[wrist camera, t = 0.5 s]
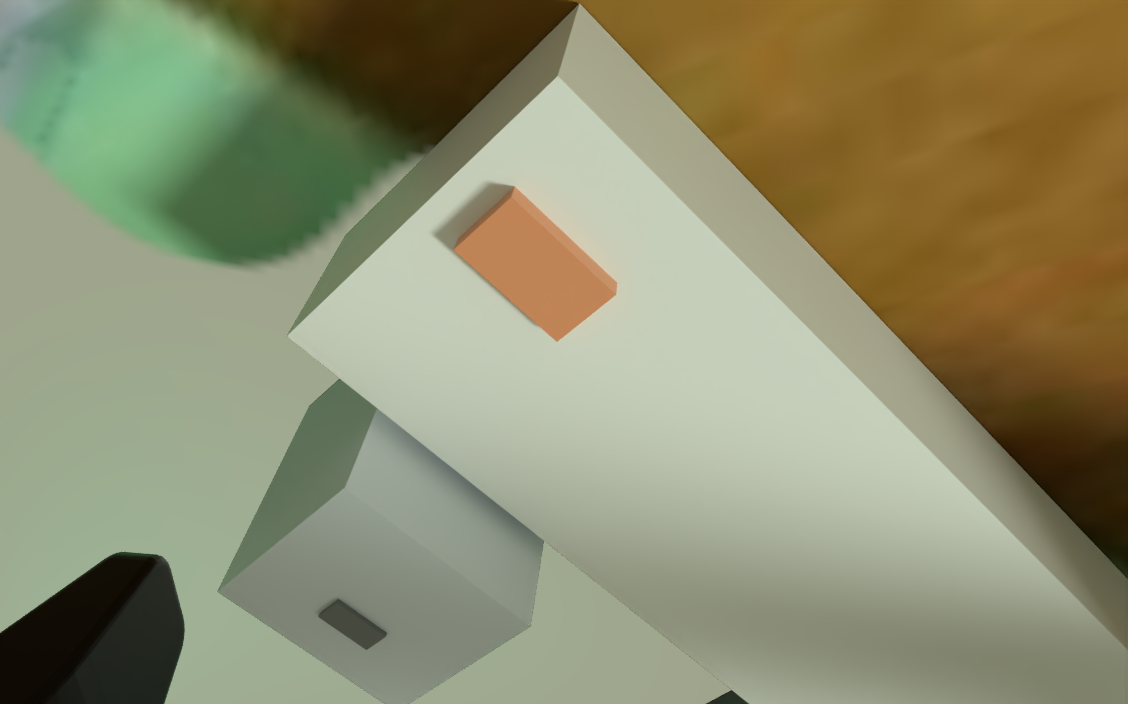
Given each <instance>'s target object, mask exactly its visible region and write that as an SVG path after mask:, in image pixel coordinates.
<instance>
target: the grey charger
mask: <svg viewBox="0 0 1128 704" xmlns="http://www.w3.org/2000/svg"><path fill="white" fill-rule="evenodd" d="M543 543H544V540H542V539H541V538H540V537H539V536H537V535H536V534H535V533H533V532H532V531H531V530H530V529H528V528H527V527H526V526H525V525H523V524H522V523H521V522H520V521H518V520H517V519H516V518H515V517H513V516H512V515H511V514H510V513H508V512H507V511H506V510H505V509H503V508H502V507H501V506H499V505H498V504H497V503H496V502H494V501H493V500H492V499H491V498H489V497H488V496H487V495H486V494H484V493H483V492H482V491H481V490H479V489H478V488H477V487H476V486H474V485H473V484H472V483H471V482H469V481H468V480H467V479H466V478H464V477H463V476H462V475H460V474H459V473H458V472H457V471H455V470H454V469H453V468H452V467H450V466H449V465H448V464H447V463H445V462H444V461H443V460H442V459H440V458H439V457H438V456H437V455H435V454H434V453H433V452H432V451H430V450H429V449H428V448H426V447H425V446H424V445H423V444H421V443H420V442H419V441H418V440H416V439H415V438H414V437H413V436H411V435H410V434H409V433H408V432H406V431H405V430H404V429H403V428H401V427H400V426H399V425H398V424H396V423H395V422H394V421H393V420H391V419H390V418H389V417H387V416H386V415H385V414H384V413H382V412H381V411H380V410H379V409H377V408H376V407H375V406H374V405H372V404H371V403H370V402H369V401H367V400H366V399H365V398H364V397H362V396H361V395H360V394H359V393H357V392H356V391H355V390H353V389H352V388H351V387H350V386H348V385H347V384H346V383H345V382H343V381H342V380H341V379H339V380H338V381H336V382H335V383H334V384H333V385H332V386H331V387H330V388H329V389H328V390H326V391H325V392H324V393H323V394H322V395H321V396H320V397H319V398H317V400H315V401H314V402H313V403H312V404H311V405H310V406H309V408H308V410H307V412H306V414H305V416H304V418H303V420H302V422H301V424H300V426H299V428H298V430H297V432H296V434H295V436H294V438H293V440H292V442H291V444H290V446H289V448H288V450H287V452H286V454H285V456H284V458H283V460H282V462H281V464H280V466H279V468H278V470H277V472H276V474H275V476H274V478H273V481H272V482H271V484H270V486H269V488H268V490H267V492H266V494H265V497H264V498H263V501H262V502H261V504H260V507H259V509H258V511H257V513H256V515H255V517H254V519H253V521H252V523H251V525H250V527H249V529H248V531H247V533H246V535H245V537H244V539H243V541H242V543H241V545H240V547H239V549H238V551H237V553H236V555H235V557H234V559H233V561H232V563H231V565H230V567H229V569H228V571H227V573H226V575H225V577H224V579H223V581H222V583H221V586H220V587H219V589H218V593H220V594H221V595H223V596H224V597H226V598H227V599H229V600H230V601H232V602H233V603H235V604H236V605H238V606H239V607H241V608H242V609H244V610H245V611H247V612H248V613H250V614H251V615H253V616H254V617H256V618H257V619H259V620H260V621H262V622H263V623H265V624H266V625H267V626H269V627H271V628H272V629H273V630H275V631H277V632H278V633H280V634H281V635H282V636H284V637H285V638H287V639H288V640H290V641H291V642H293V643H294V644H296V645H297V646H299V647H300V648H302V649H303V650H305V651H306V652H308V653H309V654H311V655H312V656H314V657H315V658H317V659H318V660H320V661H321V662H323V663H324V664H326V665H327V666H328V667H330V668H332V669H333V670H334V671H336V672H337V673H339V674H340V675H342V676H344V677H345V678H346V679H348V680H350V681H351V682H352V683H354V684H355V685H357V686H358V687H360V688H361V689H363V690H364V691H366V692H367V693H369V694H370V695H372V696H373V697H375V698H376V699H378V700H379V701H381V702H382V703H384V704H410V703H411V702H413V701H414V700H416V699H418V698H419V697H421V696H422V695H424V694H425V693H427V692H428V691H430V690H432V689H433V688H435V687H436V686H438V685H440V684H441V683H443V682H444V681H446V680H447V679H449V678H451V677H452V676H454V675H455V674H457V673H458V672H460V671H461V670H463V669H465V668H466V667H468V666H469V665H471V664H473V663H474V662H476V661H477V660H479V659H480V658H482V657H483V656H485V655H487V654H488V653H490V652H491V651H493V650H494V649H496V648H497V647H499V646H501V645H502V644H504V643H505V642H507V641H509V640H510V639H512V638H513V637H515V636H516V635H518V634H520V633H521V632H523V631H524V630H526V629H527V628H529V627H530V626H531V621H532V614H533V608H534V601H535V595H536V588H537V582H538V576H539V569H540V563H541V556H542V550H543Z"/></svg>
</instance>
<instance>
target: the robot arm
mask: <svg viewBox="0 0 1128 704" xmlns="http://www.w3.org/2000/svg"><path fill="white" fill-rule="evenodd" d="M184 630H185V629H184V619H183V614H182V611H181V607H180V603H179V600H178V595H177V592H176V588H175V584H174V580H173V576H172V573H171V569H170V567H169V564H168V562H167V561H166V560H165V559H164V558H163V557H162V556H159V555H154V554H141V553H130V552H119V553H115V554H113V555H111V556H109V557H107V558H106V559H104V560H103V561H101V562H100V563H98V564H97V565H96V566H94V567H93V568H91V569H90V570H89V571H87V572H86V573H85V574H83V575H81V576H80V577H79V578H77V579H76V580H75V581H73V582H72V583H70V584H69V585H67V586H66V587H65V588H63V589H62V590H60V591H59V592H57V593H56V594H55V595H53V596H52V597H50V598H49V599H48V600H46V601H45V602H43V603H42V604H40V605H39V606H38V607H36V608H35V609H33V610H32V611H30V612H29V613H28V614H26V615H25V616H23V617H22V618H21V619H19V620H18V621H16V622H15V623H13V624H12V625H11V626H9V627H8V628H6V629H5V630H4V631H2V632H1V633H0V704H164V703H165V700H166V697H167V693H168V690H169V687H170V684H171V681H172V678H173V675H174V672H175V669H176V666H177V662H178V659H179V656H180V653H181V650H182V646H183V641H184Z"/></svg>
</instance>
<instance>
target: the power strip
mask: <svg viewBox="0 0 1128 704" xmlns="http://www.w3.org/2000/svg"><path fill="white" fill-rule="evenodd" d="M287 337H288V338H289V339H291V340H292V341H293V342H294V343H296V344H297V345H298V346H299V347H301V348H302V349H303V350H305V351H306V352H307V353H308V354H309V355H311V356H312V357H313V358H315V359H316V360H317V361H318V362H320V363H321V364H322V365H323V366H325V367H326V368H327V369H328V370H330V371H331V372H332V373H334V374H335V375H336V376H337V377H338V378H340V379H341V380H342V381H343V382H345V383H346V384H347V385H348V386H350V387H351V388H352V389H353V390H355V391H356V392H357V393H359V394H360V395H361V396H362V397H364V398H365V399H366V400H367V401H369V402H370V403H371V404H372V405H374V406H375V407H376V408H377V409H379V410H380V411H381V412H382V413H384V414H385V415H386V416H387V417H389V418H390V419H391V420H393V421H394V422H395V423H396V424H398V425H399V426H400V427H401V428H403V429H404V430H405V431H406V432H408V433H409V434H410V435H411V436H413V437H414V438H415V439H416V440H418V441H419V442H420V443H421V444H423V445H424V446H425V447H426V448H428V449H429V450H430V451H432V452H433V453H434V454H435V455H437V456H438V457H439V458H440V459H442V460H443V461H444V462H445V463H447V464H448V465H449V466H450V467H452V468H453V469H454V470H455V471H457V472H458V473H459V474H460V475H462V476H463V477H464V478H466V479H467V480H468V481H469V482H471V483H472V484H473V485H474V486H476V487H477V488H478V489H479V490H481V491H482V492H483V493H484V494H486V495H487V496H488V497H489V498H491V499H492V500H493V501H494V502H496V503H497V504H498V505H499V506H501V507H502V508H503V509H505V510H506V511H507V512H508V513H510V514H511V515H512V516H513V517H515V518H516V519H517V520H518V521H520V522H521V523H522V524H523V525H525V526H526V527H527V528H528V529H530V530H531V531H532V532H533V533H535V534H536V535H537V536H539V537H540V538H541V539H542V540H544V541H545V542H546V543H547V544H549V545H550V546H551V547H552V548H554V549H555V550H556V551H557V552H559V553H560V554H561V555H562V556H564V557H565V558H566V559H567V560H569V561H570V562H571V563H572V564H574V565H575V566H576V567H578V568H579V569H580V570H581V571H583V572H584V573H585V574H586V575H588V576H589V577H590V578H591V579H593V580H594V581H595V582H596V583H598V584H599V585H600V586H601V587H603V588H604V589H605V590H607V591H608V592H609V593H610V594H612V595H613V596H614V597H615V598H617V599H618V600H619V601H620V602H622V603H623V604H624V605H626V606H627V607H628V608H629V609H630V610H632V611H633V612H634V613H635V614H637V615H638V616H640V618H642V619H643V620H644V621H645V622H647V623H648V624H649V625H651V626H652V627H653V628H654V629H656V630H657V631H658V632H659V633H661V634H662V635H663V636H664V637H666V638H667V639H668V640H669V641H671V642H672V643H673V644H674V645H676V646H677V647H678V648H679V649H681V650H682V651H683V652H685V653H686V654H687V655H689V656H690V657H691V658H692V659H693V660H695V661H696V662H697V663H698V664H700V665H701V666H702V667H703V668H705V669H706V670H707V671H709V672H710V673H711V674H712V675H714V676H715V677H716V678H718V680H720V681H721V682H722V683H724V684H725V685H726V686H727V687H729V688H730V689H731V690H732V691H734V692H735V693H736V694H737V695H739V696H740V697H741V698H742V699H744V700H745V701H746V702H747V703H749V704H1128V579H1127V578H1126V577H1125V576H1124V575H1123V574H1122V573H1121V571H1120V570H1119V569H1118V568H1117V567H1116V566H1115V565H1114V564H1113V563H1112V562H1111V561H1110V560H1109V559H1108V558H1107V557H1106V556H1105V555H1104V554H1103V553H1102V552H1101V550H1100V549H1099V548H1098V547H1097V546H1096V545H1095V544H1094V543H1093V542H1092V541H1091V540H1090V539H1089V538H1088V537H1087V536H1086V535H1085V534H1084V533H1083V532H1082V531H1081V529H1080V528H1079V527H1078V526H1077V525H1076V524H1075V523H1074V522H1073V521H1072V520H1071V519H1070V518H1069V517H1068V516H1067V515H1066V514H1065V513H1064V512H1063V511H1062V510H1061V508H1060V507H1059V506H1058V505H1057V504H1056V503H1055V502H1054V501H1053V500H1052V499H1051V498H1050V497H1049V496H1048V495H1047V494H1046V493H1045V492H1044V491H1043V490H1042V489H1041V487H1040V486H1039V485H1038V484H1037V483H1036V482H1035V481H1034V480H1033V479H1032V478H1031V477H1030V476H1029V475H1028V474H1027V473H1026V472H1025V471H1024V470H1023V469H1022V468H1021V466H1020V465H1019V464H1018V463H1017V462H1016V461H1015V460H1014V459H1013V458H1012V457H1011V456H1010V455H1009V454H1008V453H1007V452H1006V451H1005V450H1004V449H1003V448H1002V447H1001V445H1000V444H999V443H998V442H997V441H996V440H995V439H994V438H993V437H992V436H991V435H990V434H989V433H988V432H987V431H986V430H985V429H984V428H983V427H982V426H981V424H980V423H979V422H978V421H977V420H976V419H975V418H974V417H973V416H972V415H971V414H970V413H969V412H968V411H967V410H966V409H965V408H964V407H963V406H962V405H961V403H960V402H959V401H958V400H957V399H956V398H955V397H954V396H953V395H952V394H951V393H950V392H949V391H948V390H947V389H946V388H945V387H944V386H943V385H942V384H941V382H940V381H939V380H938V379H937V378H936V377H935V376H934V375H933V374H932V373H931V372H930V371H929V370H928V369H927V368H926V367H925V366H924V365H923V364H922V363H921V361H920V360H919V359H918V358H917V357H916V356H915V355H914V354H913V353H912V352H911V351H910V350H909V349H908V348H907V347H906V346H905V345H904V344H903V343H902V342H901V340H900V339H899V338H898V337H897V336H896V335H895V334H894V333H893V332H892V331H891V330H890V329H889V328H888V327H887V326H886V325H885V324H884V323H883V322H882V321H881V319H880V318H879V317H878V316H877V315H876V314H875V313H874V312H873V311H872V310H871V309H870V308H869V307H868V306H867V305H866V304H865V303H864V302H863V301H862V300H861V298H860V297H859V296H858V295H857V294H856V293H855V292H854V291H853V290H852V289H851V288H850V287H849V286H848V285H847V284H846V283H845V282H844V281H843V280H842V279H841V277H840V276H839V275H838V274H837V273H836V272H835V271H834V270H833V269H832V268H831V267H830V266H829V265H828V264H827V263H826V262H825V261H824V260H823V259H822V258H821V256H820V255H819V254H818V253H817V252H816V251H815V250H814V249H813V248H812V247H811V246H810V245H809V244H808V243H807V242H806V241H805V240H804V239H803V238H802V237H801V235H800V234H799V233H798V232H797V231H796V230H795V229H794V228H793V227H792V226H791V225H790V224H789V223H788V222H787V221H786V220H785V219H784V218H783V217H782V216H781V214H780V213H779V212H778V211H777V210H776V209H775V208H774V207H773V206H772V205H771V204H770V203H769V202H768V201H767V200H766V199H765V198H764V197H763V196H762V195H761V193H760V192H759V191H758V190H757V189H756V188H755V187H754V186H753V185H752V184H751V183H750V182H749V181H748V180H747V179H746V178H745V177H744V176H743V175H742V173H741V172H740V171H739V170H738V169H737V168H736V167H735V166H734V165H733V164H732V163H731V162H730V161H729V160H728V159H727V158H726V157H725V156H724V155H723V154H722V152H721V151H720V150H719V149H718V148H717V147H716V146H715V145H714V144H713V143H712V142H711V141H710V140H709V139H708V138H707V137H706V136H705V135H704V134H703V133H702V131H701V130H700V129H699V128H698V127H697V126H696V125H695V124H694V123H693V122H692V121H691V120H690V119H689V118H688V117H687V116H686V115H685V114H684V113H683V112H682V110H681V109H680V108H679V107H678V106H677V105H676V104H675V103H674V102H673V101H672V100H671V99H670V98H669V97H668V96H667V95H666V94H665V93H664V92H663V91H662V89H661V88H660V87H659V86H658V85H657V84H656V83H655V82H654V81H653V80H652V79H651V78H650V77H649V76H648V75H647V74H646V73H645V72H644V71H643V70H642V68H641V67H640V66H639V65H638V64H637V63H636V62H635V61H634V60H633V59H632V58H631V57H630V56H629V55H628V54H627V53H626V52H625V51H624V50H623V49H622V47H621V46H620V45H619V44H618V43H617V42H616V41H615V40H614V39H613V38H612V37H611V36H610V35H609V34H608V33H607V32H606V31H605V30H604V29H603V28H602V26H601V25H600V24H599V23H598V22H597V21H596V20H595V19H594V18H593V17H592V16H591V15H590V14H589V13H588V12H587V11H586V10H585V9H584V8H583V7H582V5H581V4H580V3H579V4H578V5H577V6H576V7H575V8H574V9H573V10H572V11H571V12H570V13H569V14H568V15H567V16H566V17H565V18H564V19H563V20H562V21H561V22H560V23H559V24H558V25H557V26H556V27H555V28H554V29H553V30H552V31H551V32H550V33H549V34H548V35H547V36H546V37H545V38H544V39H543V40H542V41H541V42H540V43H539V44H538V45H537V46H536V47H535V48H534V49H533V50H532V51H531V52H530V53H529V54H528V55H527V56H526V57H525V58H524V59H523V60H522V61H521V62H520V63H519V64H518V65H517V66H516V67H515V68H514V69H513V70H512V71H511V72H510V73H509V74H508V75H507V76H506V77H505V78H504V79H503V80H502V81H501V82H500V83H499V84H498V85H497V86H496V87H495V88H494V89H493V90H492V91H491V92H490V93H489V94H488V95H487V96H486V97H485V98H484V99H483V100H482V101H481V102H480V103H479V104H478V105H477V106H476V107H475V108H474V109H473V110H472V111H471V112H469V113H468V114H467V115H466V116H465V117H464V118H463V119H462V120H461V121H460V122H459V123H458V124H457V125H456V126H455V127H454V128H453V129H452V130H451V131H450V132H449V133H448V134H447V135H446V136H445V137H444V138H443V139H442V140H441V141H440V142H439V143H438V144H437V145H436V146H435V147H434V148H433V149H432V150H431V151H430V152H429V153H428V154H427V155H426V156H425V157H424V158H423V159H422V160H421V161H420V162H419V163H418V164H417V165H416V166H415V167H414V168H413V169H412V170H411V171H410V172H409V173H408V174H407V175H406V176H405V177H404V178H403V179H402V180H401V181H400V182H399V183H398V184H397V185H396V186H395V187H394V188H393V189H392V190H391V191H390V192H389V193H388V194H387V195H386V196H385V197H384V198H383V199H382V200H381V201H380V202H379V203H378V204H377V205H376V206H375V207H374V208H373V209H372V210H371V211H370V212H369V213H368V214H367V215H366V216H365V217H364V218H363V219H362V220H360V221H359V222H358V223H357V224H356V225H355V226H354V227H353V228H352V229H351V230H350V231H349V232H348V233H347V234H346V235H345V237H344V239H343V241H342V242H341V244H340V246H339V247H338V249H337V251H336V253H335V254H334V256H333V258H332V259H331V261H330V263H329V265H328V266H327V268H326V270H325V272H324V273H323V275H322V277H321V278H320V280H319V282H318V284H317V285H316V287H315V289H314V290H313V292H312V294H311V295H310V297H309V299H308V301H307V302H306V304H305V306H304V308H303V309H302V311H301V313H300V314H299V316H298V318H297V320H296V321H295V323H294V325H293V326H292V328H291V330H290V331H289V333H288V335H287Z"/></svg>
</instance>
